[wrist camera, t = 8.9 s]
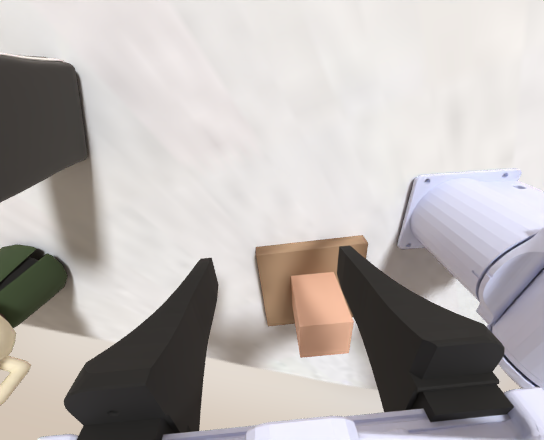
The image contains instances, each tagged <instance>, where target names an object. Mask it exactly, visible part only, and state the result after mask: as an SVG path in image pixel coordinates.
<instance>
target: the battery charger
mask: <svg viewBox="0 0 544 440" xmlns="http://www.w3.org/2000/svg"><path fill="white" fill-rule="evenodd" d="M86 158H87V149H86V140H85V132H84V125H83V117H82V110H81V103H80V97H79V90H78V84H77V77H76V71H75V68H74V67H73V66H72V65H71V64H69V63H66V62H64V61H63V60H60V59H56V58H46V57H35V56H20V55H11V54H6V53H0V202H2V201H4V200H6V199H8V198H10V197H12V196H14V195H16V194H18V193H20V192H22V191H24V190H26V189H28V188H30V187H32V186H33V185H35V184H37V183H39V182H41V181H43V180H44V179H46V178H48V177H50V176H52V175H53V174H55V173H57V172H59V171H61V170H63V169H65V168H67V167H69V166H71V165H73V164H75V163H78V162H80V161H82V160H85V159H86Z"/></svg>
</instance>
